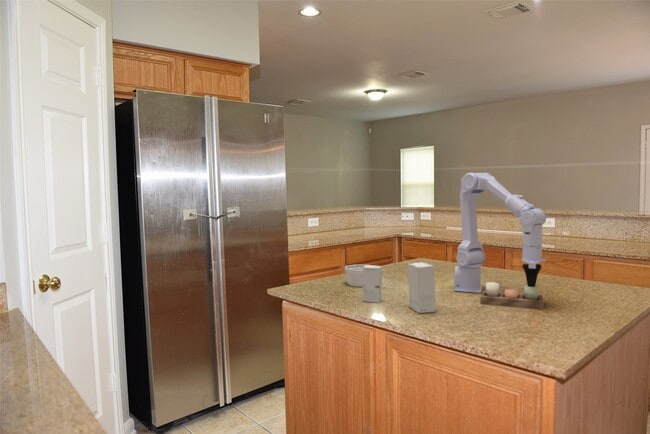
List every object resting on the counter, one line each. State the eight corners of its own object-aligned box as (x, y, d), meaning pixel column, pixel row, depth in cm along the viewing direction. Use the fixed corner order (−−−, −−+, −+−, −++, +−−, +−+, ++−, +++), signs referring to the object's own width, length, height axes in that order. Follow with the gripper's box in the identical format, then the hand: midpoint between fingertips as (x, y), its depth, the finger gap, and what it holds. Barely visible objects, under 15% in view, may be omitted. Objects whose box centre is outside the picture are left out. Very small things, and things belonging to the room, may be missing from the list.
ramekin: (377, 280, 191) (377, 264, 190) (377, 288, 178) (377, 270, 177) (345, 280, 192) (345, 264, 191) (343, 287, 179) (343, 270, 178)
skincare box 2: (435, 312, 144) (436, 265, 143) (418, 313, 143) (418, 266, 141) (424, 305, 152) (424, 261, 151) (407, 306, 151) (407, 262, 150)
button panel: (480, 303, 153) (480, 296, 153) (482, 297, 161) (482, 290, 161) (543, 309, 145) (543, 301, 145) (542, 302, 154) (542, 295, 153)
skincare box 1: (362, 301, 158) (362, 267, 157) (365, 298, 162) (364, 264, 161) (380, 302, 156) (379, 267, 155) (382, 299, 160) (382, 265, 159)
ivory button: (485, 296, 154) (485, 284, 154) (486, 293, 158) (486, 281, 158) (498, 297, 153) (498, 285, 152) (499, 294, 157) (499, 282, 156)
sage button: (524, 299, 150) (524, 287, 149) (524, 296, 154) (524, 284, 153) (538, 300, 148) (538, 288, 148) (537, 297, 152) (538, 285, 152)
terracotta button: (504, 303, 152) (504, 291, 152) (504, 300, 156) (504, 288, 156) (517, 304, 151) (518, 292, 150) (518, 301, 154) (518, 289, 154)
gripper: (546, 249, 141) (545, 292, 142) (544, 243, 154) (543, 282, 155) (521, 248, 144) (521, 290, 145) (521, 242, 157) (521, 281, 158)
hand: (531, 286), depth 150 cm, fingers closed, pressing on sage button
